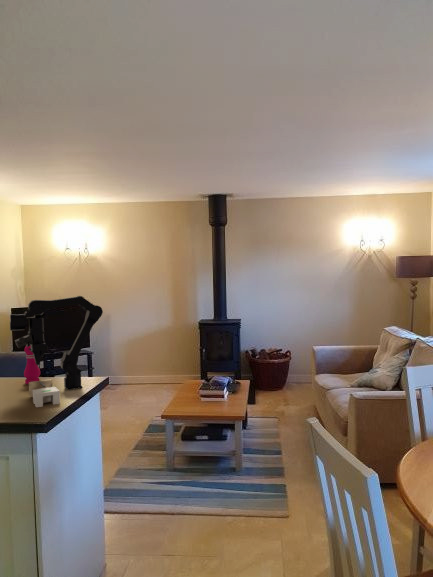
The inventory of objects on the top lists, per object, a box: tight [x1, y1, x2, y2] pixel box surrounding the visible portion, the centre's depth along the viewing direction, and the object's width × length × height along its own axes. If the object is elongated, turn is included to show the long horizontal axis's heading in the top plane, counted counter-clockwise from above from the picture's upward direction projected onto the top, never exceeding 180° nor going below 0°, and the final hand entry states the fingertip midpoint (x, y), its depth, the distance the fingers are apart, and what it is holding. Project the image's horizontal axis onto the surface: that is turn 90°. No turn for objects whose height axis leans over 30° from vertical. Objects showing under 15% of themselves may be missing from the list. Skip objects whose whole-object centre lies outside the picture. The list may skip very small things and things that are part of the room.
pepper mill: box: [23, 345, 41, 385], centre depth 201 cm, size 7×7×20 cm
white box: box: [28, 378, 53, 404], centre depth 171 cm, size 9×15×6 cm, turn 32°
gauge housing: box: [32, 386, 61, 408], centre depth 166 cm, size 9×8×5 cm
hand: (37, 364), depth 182 cm, fingers closed
